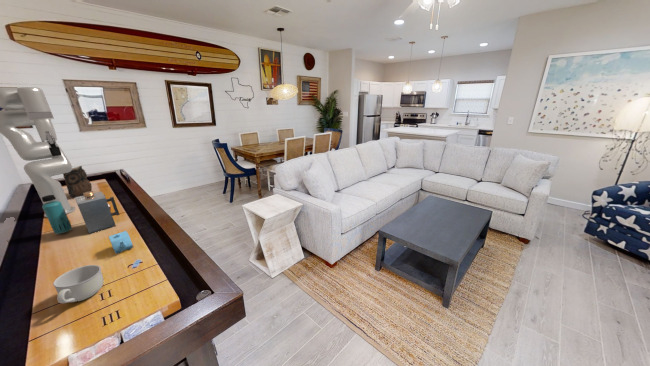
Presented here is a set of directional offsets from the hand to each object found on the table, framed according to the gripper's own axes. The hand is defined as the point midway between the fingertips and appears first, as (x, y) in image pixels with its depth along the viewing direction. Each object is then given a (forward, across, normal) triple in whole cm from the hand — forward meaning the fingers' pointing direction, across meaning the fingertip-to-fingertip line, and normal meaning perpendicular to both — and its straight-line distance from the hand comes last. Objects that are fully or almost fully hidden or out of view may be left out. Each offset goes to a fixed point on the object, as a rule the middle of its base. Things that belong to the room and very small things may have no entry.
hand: (57, 155), depth 114 cm
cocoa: (+37, -7, +9) cm, 39 cm away
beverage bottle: (+37, +6, -8) cm, 39 cm away
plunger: (+36, +13, +5) cm, 38 cm away
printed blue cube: (+37, +48, +8) cm, 61 cm away
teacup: (+37, +71, -7) cm, 81 cm away
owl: (+37, -61, +3) cm, 72 cm away
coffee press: (+37, +13, +7) cm, 40 cm away
